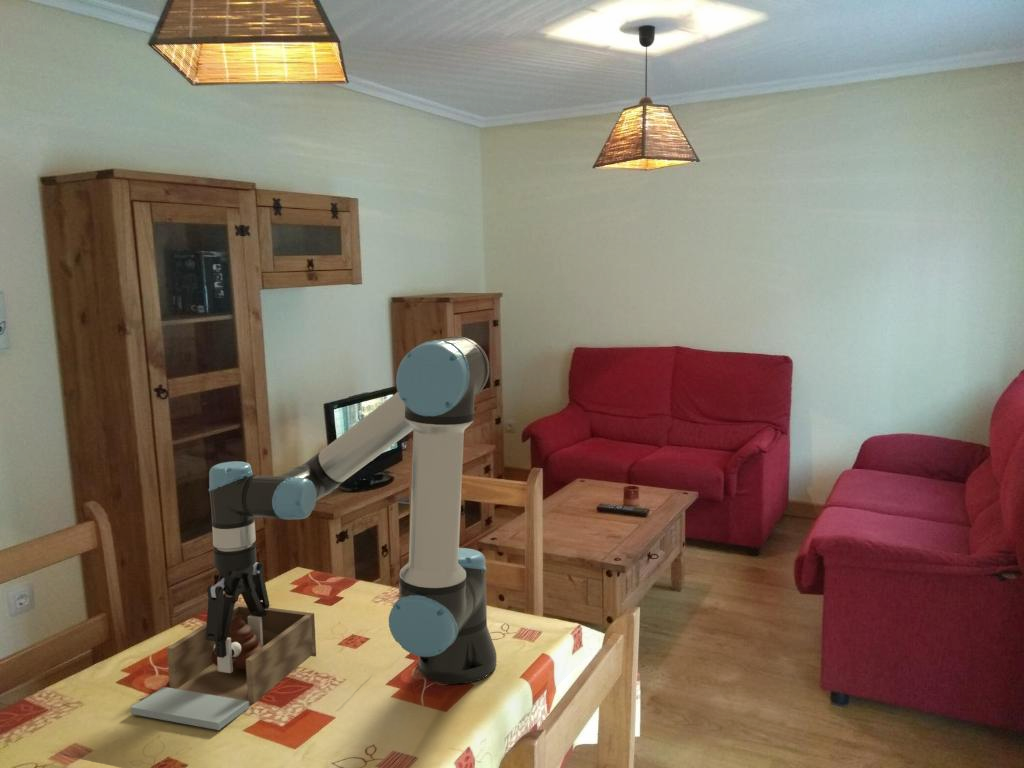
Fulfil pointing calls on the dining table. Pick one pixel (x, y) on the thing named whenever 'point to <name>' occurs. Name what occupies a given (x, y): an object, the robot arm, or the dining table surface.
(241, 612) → the box
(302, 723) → the dining table surface
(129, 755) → the dining table surface
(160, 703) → the door
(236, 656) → the poop emoji
